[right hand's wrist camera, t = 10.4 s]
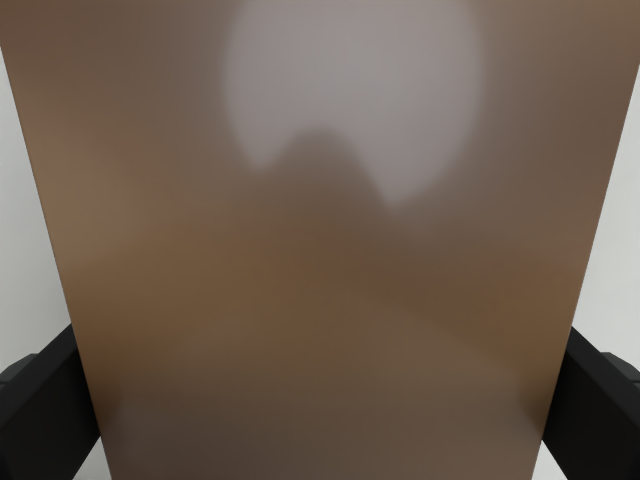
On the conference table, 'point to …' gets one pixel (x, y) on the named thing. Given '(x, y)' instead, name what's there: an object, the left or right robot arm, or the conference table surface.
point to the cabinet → (321, 222)
